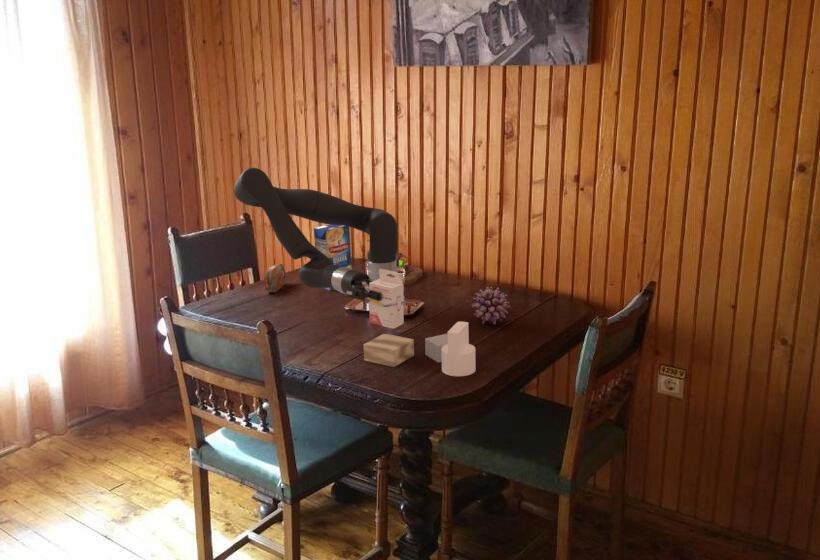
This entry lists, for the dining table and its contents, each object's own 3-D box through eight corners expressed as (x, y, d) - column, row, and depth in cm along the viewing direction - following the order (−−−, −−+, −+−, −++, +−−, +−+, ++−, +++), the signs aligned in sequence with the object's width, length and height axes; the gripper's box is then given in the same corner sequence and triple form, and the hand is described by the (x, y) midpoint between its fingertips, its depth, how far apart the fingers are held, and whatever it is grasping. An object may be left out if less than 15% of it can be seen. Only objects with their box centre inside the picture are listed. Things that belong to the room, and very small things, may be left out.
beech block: (384, 349, 234) (384, 333, 232) (414, 356, 228) (413, 339, 227) (364, 361, 226) (363, 344, 224) (394, 368, 220) (393, 350, 219)
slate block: (446, 350, 232) (446, 333, 230) (459, 358, 226) (459, 341, 224) (425, 355, 228) (425, 338, 227) (438, 363, 223) (437, 346, 221)
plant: (380, 269, 317) (379, 241, 314) (428, 273, 310) (427, 244, 307) (359, 283, 299) (358, 254, 296) (409, 287, 292) (408, 257, 289)
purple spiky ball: (473, 330, 246) (472, 293, 242) (470, 318, 257) (470, 281, 254) (511, 329, 246) (511, 292, 242) (507, 317, 257) (507, 280, 254)
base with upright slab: (469, 378, 212) (469, 334, 208) (437, 373, 215) (436, 331, 212) (479, 365, 220) (479, 323, 216) (448, 361, 223) (447, 320, 220)
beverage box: (317, 287, 294) (313, 228, 288) (339, 280, 302) (336, 222, 296) (329, 291, 290) (326, 230, 284) (352, 284, 297) (349, 225, 291)
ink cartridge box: (368, 323, 224) (367, 272, 220) (379, 318, 228) (378, 267, 224) (393, 329, 220) (393, 277, 216) (404, 324, 224) (404, 272, 220)
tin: (272, 295, 287) (270, 272, 284) (263, 295, 287) (261, 272, 285) (286, 283, 301) (285, 261, 298) (278, 283, 301) (276, 261, 299)
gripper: (329, 274, 227) (368, 287, 215) (369, 264, 236) (408, 276, 224) (330, 300, 229) (369, 314, 217) (370, 289, 238) (409, 302, 226)
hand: (389, 294), depth 221 cm, fingers closed on ink cartridge box, 5 cm apart
